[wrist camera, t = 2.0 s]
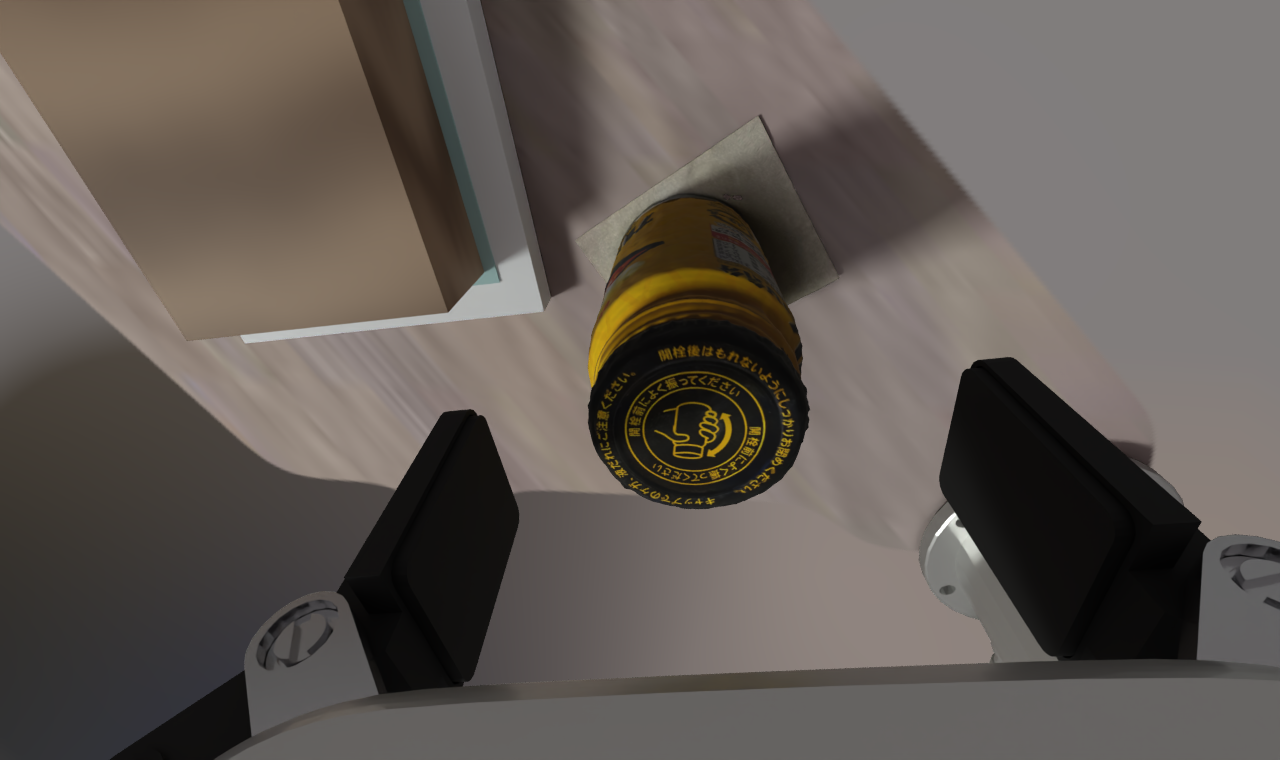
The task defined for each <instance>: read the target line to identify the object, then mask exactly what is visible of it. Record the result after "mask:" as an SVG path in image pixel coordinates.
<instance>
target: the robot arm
mask: <svg viewBox="0 0 1280 760" xmlns="http://www.w3.org/2000/svg"><path fill="white" fill-rule="evenodd" d="M939 481H940V487H941V490H942V492H943V494H944V496H945V498H946V499H947V503H946V504H945V505H944V506H943V507H942V508H941V509H940V510H939V511H938V512H937V513H936V514H935V516H934V517H933V519H932V520H931V522H930V523H929V525H928V527H927V528H926V530H925V532H924V535H923V538H922V540H921V543H920V548H919V562H920V566H921V570H922V573H923V575H924V577H925V579H926V581H927V583H928V585H929V587H930V589H931V591H932V592H933V593H934V595H935V596H936V597H937V598H938V599H939V600H940V601H941V602H942V603H944V604H945V605H946V606H948V607H949V608H950V609H952V610H954V611H956V612H958V613H961V614H963V615H965V616H968V617H971V618H975V619H978V620H980V622H981V624H982V626H983V627H984V629H985V631H986V633H987V635H988V637H989V638H990V640H991V645H992V649H993V652H994V654H993V655H992V657H991V660H990V663H978V664H953V665H925V666H898V667H869V668H845V669H822V670H821V669H820V670H796V671H772V672H748V673H725V674H701V675H679V676H656V677H635V678H615V679H592V680H571V681H552V682H529V683H511V684H496V685H480V686H465V687H463V683H464V682H468V681H470V680H471V678H472V677H473V675H474V672H475V669H476V666H477V663H478V659H479V656H480V652H481V649H482V646H483V642H484V639H485V636H486V632H487V629H488V626H489V622H490V619H491V615H492V612H493V609H494V605H495V602H496V598H497V595H498V592H499V589H500V585H501V582H502V579H503V575H504V572H505V568H506V565H507V562H508V558H509V555H510V552H511V548H512V545H513V542H514V538H515V535H516V531H517V528H518V524H519V510H518V506H517V503H516V501H515V498H514V495H513V492H512V490H511V487H510V484H509V481H508V479H507V476H506V473H505V470H504V468H503V465H502V462H501V459H500V457H499V454H498V451H497V448H496V446H495V443H494V440H493V437H492V435H491V432H490V429H489V427H488V424H487V421H486V419H485V417H484V416H482V415H479V416H477V414H476V412H475V411H474V410H472V409H468V410H458V411H448V412H444V413H443V414H442V415H441V416H440V418H439V419H438V421H437V423H436V424H435V426H434V428H433V429H432V431H431V433H430V434H429V436H428V438H427V439H426V441H425V443H424V444H423V446H422V448H421V449H420V451H419V453H418V454H417V456H416V458H415V459H414V461H413V463H412V464H411V466H410V468H409V469H408V471H407V473H406V474H405V476H404V478H403V480H402V481H401V483H400V485H399V486H398V488H397V490H396V491H395V493H394V495H393V496H392V498H391V500H390V501H389V503H388V505H387V506H386V508H385V510H384V511H383V513H382V515H381V516H380V518H379V520H378V521H377V523H376V525H375V527H374V528H373V530H372V531H371V533H370V535H369V537H368V538H367V540H366V541H365V543H364V545H363V547H362V548H361V550H360V552H359V553H358V555H357V557H356V558H355V560H354V562H353V563H352V565H351V567H350V568H349V570H348V572H347V573H346V575H345V577H344V578H345V580H344V581H343V583H342V584H341V586H340V588H339V590H338V591H337V593H335V592H325V591H321V592H317V593H313V594H309V595H306V596H304V597H302V598H300V599H298V600H295V601H293V602H291V603H290V604H288V605H287V606H285V607H284V608H282V609H281V610H279V611H278V612H277V613H275V614H274V615H273V616H272V617H271V618H270V619H269V620H268V621H267V622H266V623H264V624H263V626H262V627H261V628H260V629H259V631H258V632H257V633H256V635H255V636H254V637H253V639H252V641H251V643H250V645H249V647H248V649H247V651H246V655H245V664H244V668H245V670H244V671H242V672H241V673H240V674H238V675H236V676H235V677H234V678H232V679H231V680H229V681H228V682H226V683H224V684H223V685H221V686H220V687H218V688H217V689H215V690H214V691H212V692H211V693H209V694H208V695H206V696H205V697H203V698H202V699H200V700H198V701H197V702H195V703H194V704H192V705H191V706H189V707H188V708H186V709H185V710H183V711H182V712H180V713H179V714H177V715H176V716H174V717H173V718H171V719H170V720H168V721H167V722H165V723H164V724H162V725H161V726H159V727H158V728H156V729H155V730H153V731H151V732H150V733H148V734H147V735H145V736H144V737H142V738H141V739H139V740H138V741H136V742H135V743H133V744H132V745H130V746H129V747H127V748H126V749H124V750H123V751H121V752H120V753H118V754H117V755H115V756H114V757H113V758H111V759H110V760H1280V542H1278V541H1274V540H1270V539H1266V538H1261V537H1258V536H1247V535H1236V534H1235V535H1227V536H1220V537H1217V538H1215V539H1213V540H1212V541H1211V540H1210V539H1208V538H1207V537H1206V536H1205V535H1204V534H1203V533H1202V532H1200V530H1198V527H1199V525H1200V524H1201V521H1200V520H1199V519H1198V518H1197V517H1196V516H1195V515H1193V514H1192V513H1191V512H1190V511H1189V510H1188V509H1187V508H1185V507H1184V504H1183V500H1182V499H1181V497H1180V496H1179V494H1178V493H1177V491H1176V490H1175V488H1174V487H1173V486H1172V485H1171V484H1170V483H1168V482H1167V481H1166V480H1165V479H1164V478H1163V477H1162V476H1160V475H1159V474H1158V473H1157V472H1156V471H1155V470H1153V469H1152V468H1150V467H1148V466H1147V465H1145V464H1143V463H1141V462H1139V461H1138V460H1135V459H1132V458H1129V457H1127V456H1126V455H1125V454H1124V453H1122V452H1121V451H1120V450H1119V449H1118V448H1117V447H1116V446H1114V445H1113V444H1112V443H1111V442H1110V441H1109V440H1108V439H1106V438H1105V437H1104V436H1103V435H1102V434H1101V433H1100V432H1098V431H1097V430H1096V429H1095V428H1094V427H1093V426H1092V425H1090V424H1089V423H1088V422H1087V421H1086V420H1085V419H1084V418H1082V417H1081V416H1080V415H1079V414H1078V413H1077V412H1076V411H1074V410H1073V409H1072V408H1071V407H1070V406H1069V405H1068V404H1066V403H1065V402H1064V401H1063V400H1062V399H1061V398H1060V397H1058V396H1057V395H1056V394H1055V393H1054V392H1053V391H1052V390H1050V389H1049V388H1048V387H1047V386H1046V385H1045V384H1044V383H1042V382H1041V381H1040V380H1039V379H1038V378H1037V377H1036V376H1034V375H1033V374H1032V373H1031V372H1030V371H1029V370H1028V369H1026V368H1025V367H1024V366H1023V365H1022V364H1021V363H1019V362H1018V361H1017V360H1016V359H1014V358H1011V357H1005V358H995V359H985V360H977V361H975V362H974V363H973V364H972V366H971V369H966V370H964V372H963V373H962V376H961V380H960V384H959V389H958V393H957V398H956V402H955V407H954V412H953V416H952V421H951V425H950V430H949V434H948V439H947V443H946V448H945V452H944V457H943V461H942V466H941V471H940V476H939Z"/></svg>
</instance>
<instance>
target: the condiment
mask: <svg viewBox="0 0 1280 760" xmlns="http://www.w3.org/2000/svg"><path fill="white" fill-rule="evenodd" d="M725 194H727V195H730V197H731V198H730V199H729V200H726V199H724V197H723V195H725ZM734 195H741V197H742V198H743V199H742V200H735V199H733V196H734ZM575 241H576V243H577V244H578V245H579V247H580V248H581V249H582V251H583V252H584V254H585V255H586V256H587V258H588V259H589V261H590V262H591V263H592V265H593V266H594V267H595V268H596V270H597V271H598V273H599V274H600V275H601V276H602V278H603V279H604V281H605V282H606V283H607V285H606V288H605V293H604V298H603V302H602V305H601V309H600V312H599V314H598V317H597V321H596V323H595V326H594V328H593V331H592V335H591V343H590V348H589V361H588V371H589V377H590V382H591V387H592V390H591V395H590V402H589V404H588V409H589V419H588V425H589V430H590V434H591V438H592V442H593V445H594V447H595V450H596V452H597V454H598V456H599V457H600V459H601V460H602V461H603V463H604V464H605V465H606V466H607V467H608V469H609V471H610V472H611V474H612V475H613V476H614V477H615V478H616V479H617V480H618V481H620V482H621V484H622V486H623V487H624V488H626V489H631V490H633V491H635V492H636V493H637V494H639V495H640V496H642V497H644V498H646V499H648V500H651V501H653V502H657V503H661V504H665V505H670V506H676V507H680V508H684V509H709V508H713V507H719V506H727V505H732V504H737V503H740V502H742V501H745V500H747V499H749V498H751V497H754V496H756V495H758V494H761V493H763V492H765V491H766V490H767V489H769V488H770V487H771V486H772V485H774V484H775V483H777V482H778V481H780V480H781V479H782V478H783V477H784V475H785V474H786V473H787V471H788V470H789V469H790V468H791V467H792V466H793V464H794V462H795V460H796V457H797V455H798V452H799V449H800V446H801V443H802V442H803V439H804V435H805V431H806V430H807V429H808V423H809V417H808V412H809V410H810V408H809V405H808V400H807V396H806V395H807V388H806V387H805V386H804V384H803V382H802V380H801V366H802V360H803V357H802V343H801V340H800V336H799V334H798V330H797V327H796V324H795V320H794V317H793V315H792V313H791V311H790V309H789V308H788V306H787V305H789V304H791V303H793V302H795V301H797V300H798V299H800V298H802V297H804V296H806V295H809V294H811V293H813V292H815V291H817V290H819V289H821V288H822V287H824V286H826V285H828V284H830V283H831V282H833V281H835V280H837V279H839V276H838V274H837V272H836V270H835V268H834V266H833V264H832V263H831V261H830V259H829V257H828V255H827V253H826V251H825V249H824V247H823V245H822V243H821V241H820V239H819V237H818V235H817V233H816V231H815V229H814V227H813V224H812V223H811V221H810V219H809V217H808V215H807V213H806V211H805V209H804V207H803V205H802V203H801V201H800V199H799V197H798V195H797V193H796V191H795V190H794V188H793V185H792V183H791V181H790V179H789V177H788V175H787V173H786V171H785V169H784V167H783V164H782V163H781V161H780V159H779V157H778V155H777V153H776V151H775V149H774V147H773V145H772V142H771V140H770V138H769V136H768V134H767V132H766V130H765V128H764V126H763V124H762V122H761V120H760V118H759V116H757V117H756V118H754V119H753V120H751V121H750V122H748V123H747V124H745V125H744V126H743V127H741V128H740V129H738V130H737V131H735V132H734V133H732V134H731V135H729V136H728V137H726V138H725V139H723V140H722V141H720V142H719V143H718V144H716V145H715V146H713V147H712V148H711V149H709V150H707V151H706V152H704V153H703V154H702V155H700V156H699V157H697V158H696V159H694V160H693V161H691V162H690V163H688V164H687V165H685V166H684V167H682V168H681V169H679V170H678V171H676V172H675V173H673V174H672V175H670V176H669V177H667V178H666V179H664V180H663V181H661V182H660V183H658V184H657V185H655V186H654V187H652V188H651V189H649V190H648V191H646V192H645V193H644V194H642V195H641V196H639V197H638V198H636V199H635V200H633V201H632V202H630V203H629V204H627V205H626V206H625V207H623V208H622V209H620V210H619V211H617V212H616V213H614V214H613V215H611V216H610V217H608V218H607V219H606V220H604V221H603V222H601V223H600V224H598V225H597V226H595V227H594V228H592V229H591V230H589V231H588V232H587V233H585V234H584V235H582V236H581V237H579V238H578V239H577V240H575Z"/></svg>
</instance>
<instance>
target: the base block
mask: <svg viewBox="0 0 1280 760" xmlns="http://www.w3.org/2000/svg"><path fill="white" fill-rule="evenodd" d="M0 53H1V54H2V56H3V57H4V59H5V61H6V62H7V64H8V65H9V67H10V68H11V70H12V71H13V73H14V74H15V76H16V78H17V79H18V81H19V82H20V84H21V85H22V87H23V88H24V90H25V91H26V93H27V95H28V96H29V98H30V99H31V101H32V102H33V104H34V105H35V107H36V108H37V110H38V112H39V113H40V115H41V116H42V118H43V119H44V121H45V122H46V124H47V125H48V127H49V129H50V130H51V132H52V133H53V135H54V136H55V138H56V139H57V141H58V142H59V144H60V146H61V147H62V149H63V150H64V152H65V153H66V155H67V156H68V158H69V159H70V161H71V163H72V164H73V166H74V167H75V169H76V170H77V172H78V173H79V175H80V176H81V178H82V180H83V181H84V183H85V184H86V186H87V187H88V189H89V190H90V192H91V194H92V195H93V197H94V198H95V200H96V201H97V203H98V204H99V206H100V207H101V209H102V211H103V212H104V214H105V215H106V217H107V218H108V220H109V221H110V223H111V224H112V226H113V228H114V229H115V231H116V232H117V234H118V235H119V237H120V238H121V240H122V241H123V243H124V245H125V246H126V248H127V249H128V251H129V252H130V254H131V255H132V257H133V258H134V260H135V262H136V263H137V265H138V266H139V268H140V269H141V271H142V272H143V274H144V275H145V277H146V279H147V280H148V282H149V283H150V285H151V286H152V288H153V289H154V291H155V292H156V294H157V296H158V297H159V299H160V300H161V302H162V303H163V305H164V306H165V308H166V309H167V311H168V313H169V314H170V316H171V317H172V319H173V320H174V322H175V323H176V325H177V326H178V328H179V330H180V331H181V333H182V334H183V336H184V337H185V339H186V340H187V341H193V340H202V339H211V338H220V337H229V336H239V335H248V334H257V333H266V332H275V331H285V330H294V329H303V328H312V327H321V326H331V325H340V324H349V323H358V322H367V321H377V320H386V319H395V318H404V317H413V316H423V315H432V314H441V313H448V312H449V311H450V310H451V309H452V308H453V307H454V306H455V305H456V303H457V302H458V301H459V300H460V299H461V298H462V297H463V296H464V295H465V293H466V292H467V291H468V290H469V289H470V288H471V287H472V286H473V285H474V283H475V282H476V281H477V280H478V279H479V278H480V277H481V276H482V275H483V273H484V269H483V266H482V263H481V259H480V256H479V253H478V249H477V246H476V243H475V239H474V236H473V233H472V229H471V226H470V223H469V219H468V216H467V213H466V209H465V206H464V203H463V199H462V196H461V193H460V189H459V186H458V183H457V179H456V176H455V173H454V169H453V166H452V163H451V159H450V156H449V153H448V149H447V146H446V143H445V139H444V136H443V133H442V129H441V126H440V123H439V119H438V116H437V113H436V109H435V106H434V103H433V99H432V96H431V93H430V89H429V86H428V83H427V79H426V76H425V73H424V69H423V66H422V63H421V59H420V56H419V53H418V49H417V46H416V43H415V39H414V36H413V33H412V29H411V26H410V23H409V19H408V16H407V13H406V9H405V6H404V2H403V0H0Z"/></svg>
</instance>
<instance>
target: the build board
mask: <svg viewBox="0 0 1280 760" xmlns="http://www.w3.org/2000/svg"><path fill="white" fill-rule="evenodd" d="M403 2H404V6H405V9H406V13H407V16H408V19H409V23H410V26H411V29H412V33H413V36H414V39H415V43H416V46H417V49H418V53H419V56H420V59H421V63H422V66H423V69H424V73H425V76H426V79H427V83H428V86H429V89H430V93H431V96H432V99H433V103H434V106H435V109H436V113H437V116H438V119H439V123H440V126H441V129H442V133H443V136H444V139H445V143H446V146H447V149H448V153H449V156H450V159H451V163H452V166H453V169H454V173H455V176H456V179H457V183H458V186H459V189H460V193H461V196H462V199H463V203H464V206H465V209H466V213H467V216H468V219H469V223H470V226H471V229H472V233H473V236H474V239H475V243H476V246H477V249H478V253H479V256H480V259H481V263H482V266H483V269H484V273H483V275H482V276H481V277H480V278H479V279H478V280H477V281H476V282H475V283H474V285H473V286H472V287H471V288H470V289H469V290H468V291H467V292H466V293H465V295H464V296H463V297H462V298H461V299H460V300H459V301H458V302H457V303H456V305H455V306H454V307H453V308H452V309H451V310H450V311H449V312H448V313H441V314H432V315H423V316H413V317H404V318H395V319H386V320H377V321H367V322H358V323H349V324H340V325H331V326H321V327H312V328H303V329H294V330H285V331H275V332H266V333H257V334H248V335H240V336H241V338H242V339H243V341H244V343H254V342H263V341H272V340H282V339H291V338H300V337H310V336H319V335H329V334H338V333H347V332H357V331H366V330H376V329H385V328H394V327H404V326H413V325H423V324H432V323H441V322H451V321H460V320H470V319H479V318H488V317H498V316H507V315H516V314H526V313H535V312H544V311H545V309H546V307H547V305H548V303H549V301H550V299H551V295H550V291H549V287H548V283H547V278H546V274H545V270H544V266H543V262H542V258H541V253H540V249H539V245H538V241H537V237H536V232H535V228H534V224H533V220H532V216H531V211H530V207H529V203H528V199H527V195H526V190H525V186H524V182H523V178H522V174H521V169H520V165H519V161H518V157H517V153H516V148H515V144H514V140H513V136H512V132H511V127H510V123H509V119H508V115H507V111H506V106H505V102H504V98H503V94H502V90H501V85H500V81H499V77H498V73H497V69H496V65H495V60H494V56H493V52H492V48H491V44H490V39H489V35H488V31H487V27H486V23H485V18H484V14H483V10H482V6H481V2H480V0H403Z"/></svg>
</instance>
